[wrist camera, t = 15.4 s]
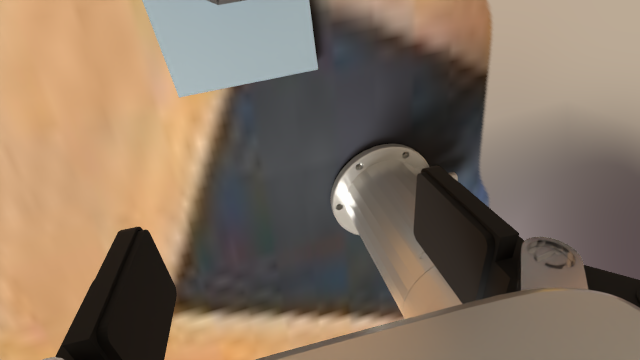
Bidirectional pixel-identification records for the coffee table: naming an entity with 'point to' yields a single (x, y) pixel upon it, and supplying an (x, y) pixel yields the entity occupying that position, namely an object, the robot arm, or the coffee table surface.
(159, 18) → the post board
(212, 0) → the steel collar
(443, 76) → the coffee table surface
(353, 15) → the coffee table surface
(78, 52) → the coffee table surface
